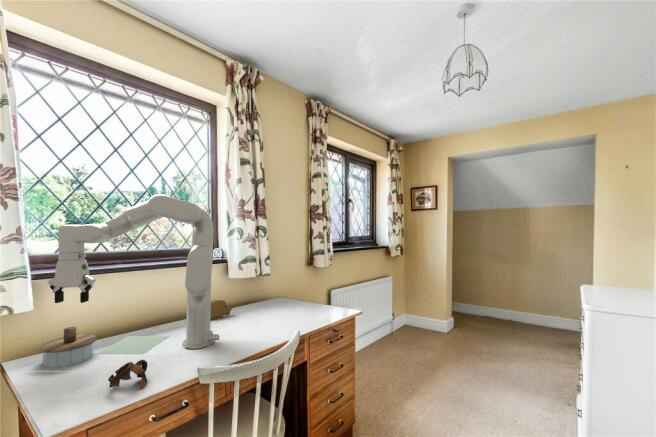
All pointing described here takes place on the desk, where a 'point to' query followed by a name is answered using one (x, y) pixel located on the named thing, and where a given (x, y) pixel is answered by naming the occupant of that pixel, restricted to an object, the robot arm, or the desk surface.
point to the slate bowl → (67, 357)
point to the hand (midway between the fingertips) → (71, 302)
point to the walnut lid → (68, 341)
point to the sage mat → (134, 345)
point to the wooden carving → (219, 309)
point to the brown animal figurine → (125, 373)
